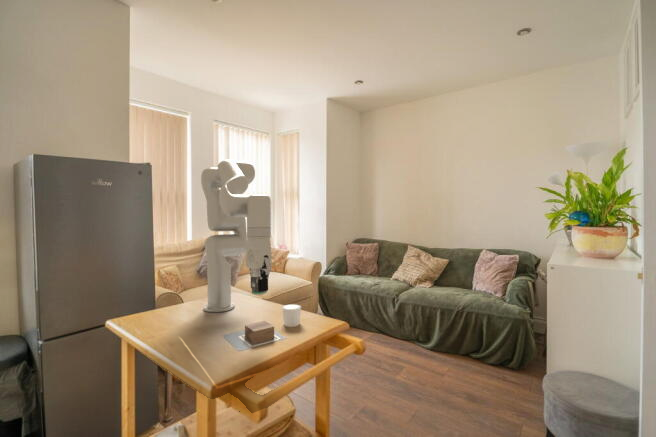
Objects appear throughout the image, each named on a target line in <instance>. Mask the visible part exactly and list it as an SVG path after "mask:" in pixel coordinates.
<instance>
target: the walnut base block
mask: <svg viewBox="0 0 656 437" xmlns="http://www.w3.org/2000/svg"><path fill="white" fill-rule="evenodd" d="M244 330H245V338H246V339H248V340H249V341H250V342H252V343H253V344H257V343H261V342H264V341H268V340H272V339H274V330H275V326H274V325H272V324H271V323H270V322H267V321H266V320H262V321H261V320H260V321H256V322H252V323H249V324H248V323H247V324H245V325H244Z"/></svg>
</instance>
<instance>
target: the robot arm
mask: <svg viewBox="0 0 656 437" xmlns="http://www.w3.org/2000/svg"><path fill="white" fill-rule="evenodd" d="M255 178H256V170H255V166H254V165H253V164H252V163H251V162H249V161H245V160H234V159H225V160H222V161H220V162H219V163H218V164H217V167H207V168H204V169H203V170H202V171H201V176H200V181H201V182H200V183H201V184H200V185H201V187H202V190H203V193H204V196H205V201H206V218H207V220H206V222H207V226H208V229H209V230H210V231H211V232H233V234H232V233H228V234H213V235H210V236H208V237H207V238H206V239H205V241H204V249H205V255H206V265H207V266H206V268H207V270H206V272H207V303H206V304H205V305H204V306H203V311H205V312H209V313H222V312H227V311H230V310H233V309H234V308H235V303H234V302H232V277H231V276H232V274H231V273H232V269H231V268H232V267H231V265H230V263H229V262H228V261H227V259H226V257H235V256H237V257H238V256H242V255H245V266H246V267H247V268H249V272H250V273H249V275H250V289H252V274H253V269H254V270H258V272H259V279H258V292H264V291H267V292H268V291H269V278H270V276H269V275H270V274H271V271H272V246H271V245H272V244H271V238H272V223H271V222H272V217H271V215H272V214H271V213H272V211H271V209H272V208H271V206H272V203H271V196H269V195H268V194H250V195H249V194H244V193H246V191H247V190H248V188H249V185H250V184H251V183H252V182H253V181H254V179H255ZM262 267H265V269H261V268H262ZM262 271H263V273H262Z"/></svg>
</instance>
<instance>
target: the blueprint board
mask: <svg viewBox="0 0 656 437" xmlns="http://www.w3.org/2000/svg"><path fill="white" fill-rule="evenodd" d="M221 336H222V337H223V338H224V339H225V340H226V341H227V342H228V343H229V344H230V345H231V346H233V348H235V350H236V351H238V352H242V351H247V350H249V349H253V348H256V347H257V348H258V347H260V346H265V345H267V344H272V343H276V342H279V341H282V340H285V339H287V337H286V336H285V335H283V334H281V333H280V332H278V331H276V330H275V329H274V339H272V340H268V341H264V342H261V343H257V344H253V343H252V342H250V341H249V340H248V339H246V338H245V329H243V330H240V331H236V332H231V333H226V334H222V335H221Z"/></svg>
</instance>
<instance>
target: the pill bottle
mask: <svg viewBox="0 0 656 437" xmlns="http://www.w3.org/2000/svg"><path fill="white" fill-rule="evenodd" d="M261 269H265V267H262V268H261ZM262 273H263V271H262ZM258 279H259V272H258V270H254V269H253V274H252V288H251V294H252V295H254V296H262V295H266V294H267V292H268V291H264V292H258Z"/></svg>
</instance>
